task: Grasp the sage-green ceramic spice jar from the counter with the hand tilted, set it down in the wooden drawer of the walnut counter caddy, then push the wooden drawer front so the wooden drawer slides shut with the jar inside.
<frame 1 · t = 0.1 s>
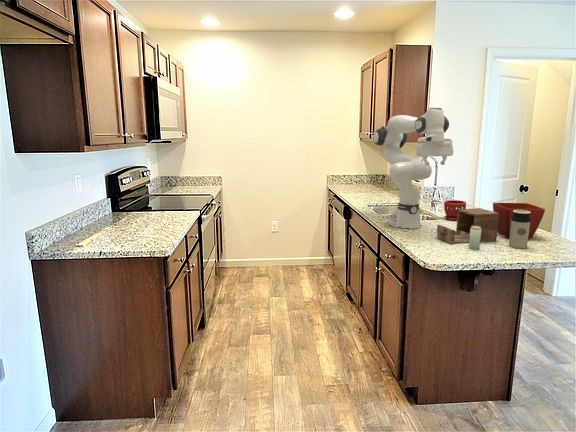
hand: (434, 165, 212), 39 cm above the worktop, tool pointing down, fingers open, 8 cm apart
caddy: (475, 238, 213), on the worktop
travel mug: (517, 246, 199), on the worktop
spice jar: (474, 248, 196), on the worktop
plant pot: (514, 236, 220), on the worktop
plant pot 2: (453, 219, 260), on the worktop
wooden drawer: (454, 233, 209), point 4 cm above the worktop, slide at 11.0 cm
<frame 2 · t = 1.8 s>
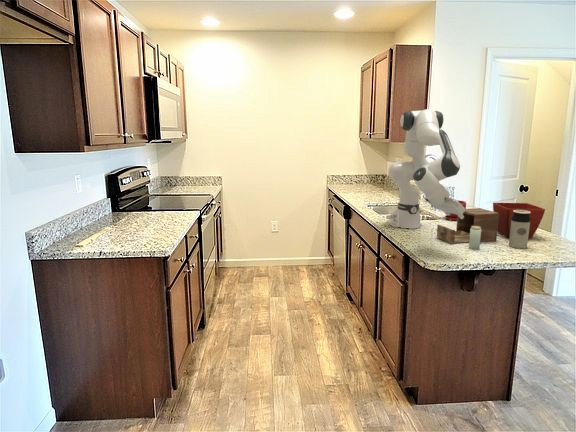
hand: (455, 216, 190), 17 cm above the worktop, tool tilted 45°, fingers open, 8 cm apart
nothing on the worktop moved.
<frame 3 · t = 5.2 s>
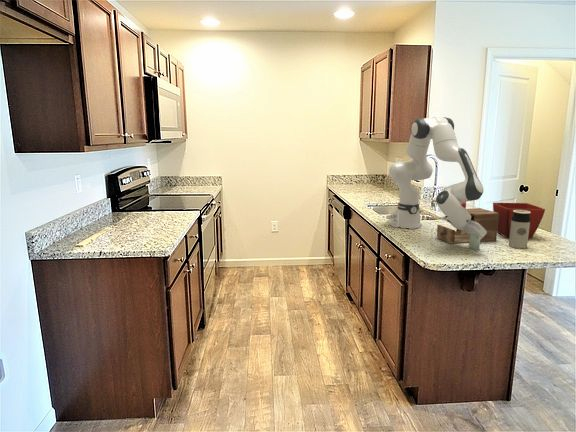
hand: (476, 236, 195), 6 cm above the worktop, tool tilted 45°, fingers closed on spice jar, 5 cm apart
spice jar: (474, 248, 196), on the worktop, touching gripper
everything else where it was.
when the fingers open (9 cm above the worktop, at t = 9.9 s): spice jar drops 2 cm, resting on wooden drawer.
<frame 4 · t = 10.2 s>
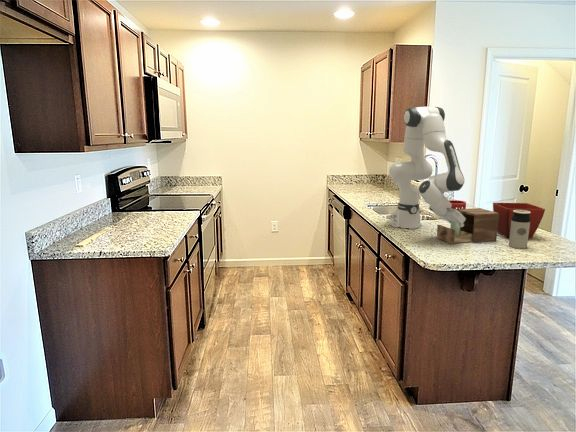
hand: (456, 224, 209), 9 cm above the worktop, tool tilted 45°, fingers open, 8 cm apart
spice jar: (454, 238, 210), point 1 cm above the worktop, touching wooden drawer
wooden drawer: (454, 233, 209), point 4 cm above the worktop, slide at 11.0 cm, touching spice jar
everything else where it was.
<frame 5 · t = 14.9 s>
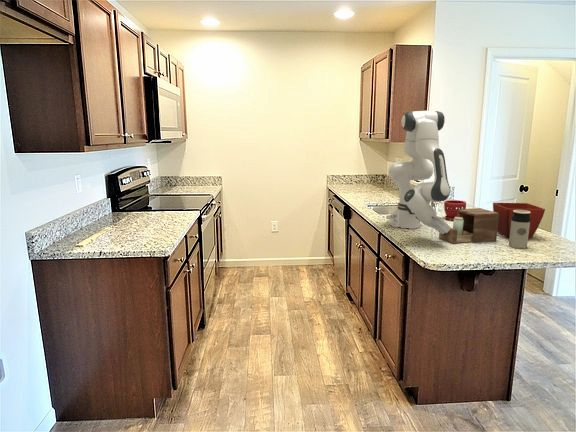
hand: (442, 232, 208), 5 cm above the worktop, tool tilted 45°, fingers closed, pressing on wooden drawer
spice jar: (456, 237, 211), point 1 cm above the worktop, touching wooden drawer
wooden drawer: (456, 233, 210), point 4 cm above the worktop, slide at 9.6 cm, touching gripper, spice jar
everything else where it was.
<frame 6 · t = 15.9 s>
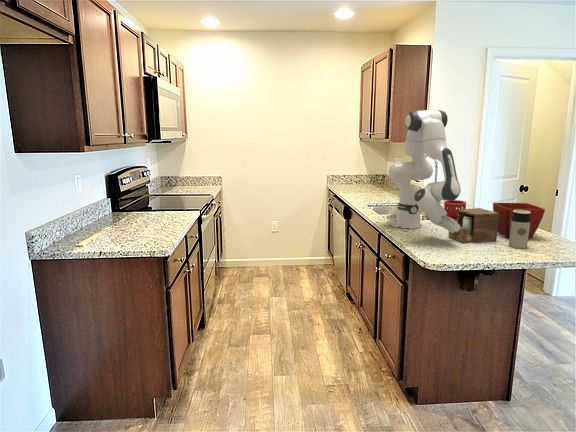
hand: (452, 231, 209), 5 cm above the worktop, tool tilted 45°, fingers closed, pressing on wooden drawer
spice jar: (466, 237, 212), point 1 cm above the worktop, touching wooden drawer
wooden drawer: (466, 232, 211), point 4 cm above the worktop, slide at 3.7 cm, touching gripper, spice jar
everything else where it was.
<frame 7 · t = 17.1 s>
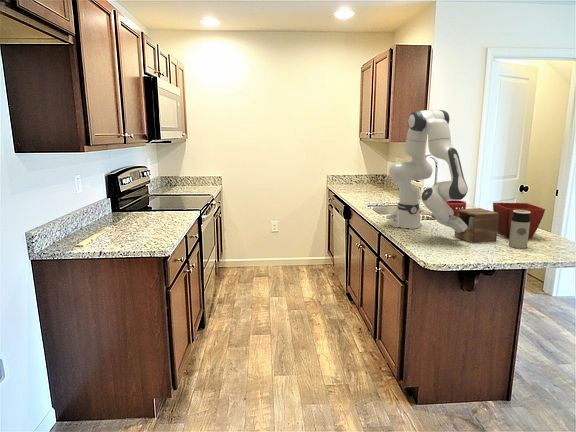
hand: (458, 231, 210), 5 cm above the worktop, tool tilted 45°, fingers closed, pressing on wooden drawer
spice jar: (472, 236, 213), point 1 cm above the worktop, touching wooden drawer
wooden drawer: (472, 231, 212), point 4 cm above the worktop, slide at -0.1 cm, touching gripper, spice jar
everything else where it was.
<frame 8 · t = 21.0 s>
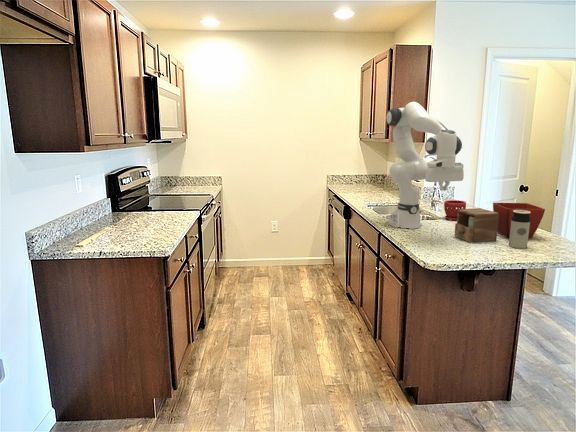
hand: (443, 190, 203), 27 cm above the worktop, tool pointing down, fingers closed
wooden drawer: (472, 231, 212), point 4 cm above the worktop, slide at 0.0 cm, touching spice jar
everything else where it was.
at the end: wooden drawer slide at 0.0 cm; spice jar inside the target area on the caddy (1.8 cm from its centre), point 1.3 cm above the caddy's base; spice jar tilted 1° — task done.
